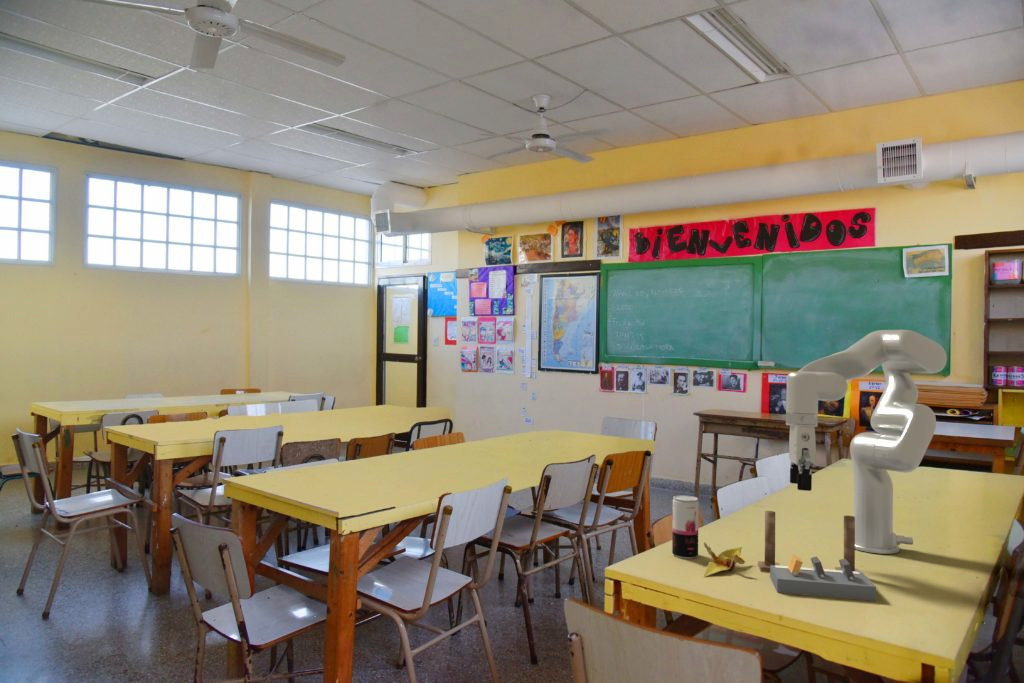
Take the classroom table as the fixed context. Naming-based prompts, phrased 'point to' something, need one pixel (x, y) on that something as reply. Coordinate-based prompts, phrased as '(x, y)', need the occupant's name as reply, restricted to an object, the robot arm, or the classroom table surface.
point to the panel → (822, 583)
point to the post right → (849, 542)
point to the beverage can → (685, 527)
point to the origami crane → (723, 560)
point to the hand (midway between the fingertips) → (800, 486)
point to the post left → (769, 543)
